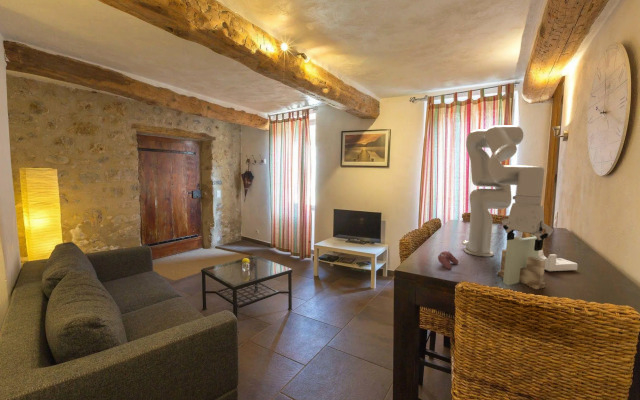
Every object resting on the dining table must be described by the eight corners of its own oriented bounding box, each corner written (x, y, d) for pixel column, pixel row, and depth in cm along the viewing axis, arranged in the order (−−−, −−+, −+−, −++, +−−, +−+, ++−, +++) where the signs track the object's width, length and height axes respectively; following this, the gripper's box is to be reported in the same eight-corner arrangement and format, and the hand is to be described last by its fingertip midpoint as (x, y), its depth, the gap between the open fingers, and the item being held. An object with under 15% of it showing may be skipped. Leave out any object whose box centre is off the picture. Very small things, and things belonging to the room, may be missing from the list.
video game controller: (449, 265, 127) (443, 250, 129) (459, 263, 124) (453, 247, 126) (440, 271, 120) (434, 255, 122) (451, 269, 117) (444, 252, 119)
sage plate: (503, 283, 105) (506, 240, 103) (530, 276, 111) (534, 236, 109) (508, 285, 103) (512, 241, 101) (536, 278, 109) (540, 237, 108)
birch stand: (497, 275, 112) (499, 250, 111) (505, 273, 114) (508, 248, 113) (536, 289, 100) (539, 261, 99) (544, 287, 102) (547, 259, 101)
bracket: (549, 273, 116) (551, 255, 115) (533, 267, 123) (535, 250, 122) (576, 272, 118) (578, 254, 117) (559, 265, 125) (561, 249, 124)
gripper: (498, 198, 110) (494, 241, 112) (549, 204, 94) (543, 254, 96) (510, 197, 113) (506, 240, 115) (562, 203, 97) (556, 252, 99)
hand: (523, 246), depth 106 cm, fingers open, 9 cm apart
